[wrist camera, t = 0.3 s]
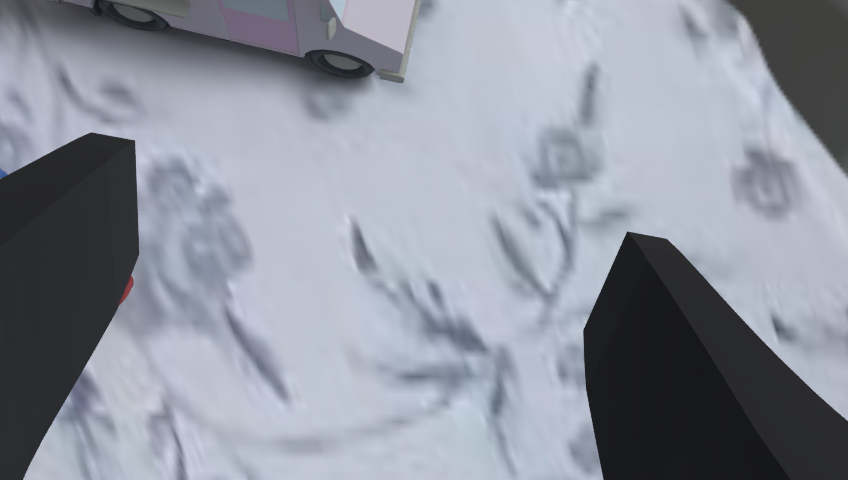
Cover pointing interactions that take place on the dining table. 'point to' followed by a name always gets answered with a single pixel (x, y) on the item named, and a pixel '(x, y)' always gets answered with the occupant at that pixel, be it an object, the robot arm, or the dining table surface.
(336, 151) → the dining table surface
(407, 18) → the toy vehicle
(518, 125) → the dining table surface
